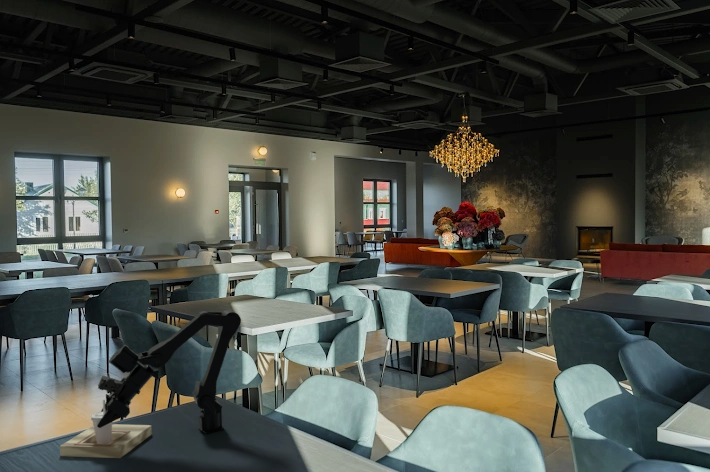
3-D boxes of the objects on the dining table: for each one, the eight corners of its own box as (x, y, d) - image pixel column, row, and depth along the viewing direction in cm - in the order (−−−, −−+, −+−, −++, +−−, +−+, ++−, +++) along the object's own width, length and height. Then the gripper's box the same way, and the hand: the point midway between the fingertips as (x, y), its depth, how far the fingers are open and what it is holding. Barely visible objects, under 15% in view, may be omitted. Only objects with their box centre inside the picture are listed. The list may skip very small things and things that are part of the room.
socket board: (96, 432, 192) (96, 423, 192) (151, 434, 189) (151, 424, 189) (60, 456, 173) (59, 445, 173) (120, 458, 170) (120, 447, 170)
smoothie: (115, 447, 177) (112, 401, 176) (92, 451, 174) (89, 404, 174) (115, 440, 183) (113, 395, 182) (93, 444, 180) (90, 398, 180)
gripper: (112, 359, 188) (76, 399, 184) (115, 373, 171) (75, 417, 167) (140, 380, 192) (105, 420, 187) (145, 395, 175) (107, 439, 170)
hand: (97, 423), depth 178 cm, fingers closed on smoothie, 6 cm apart
